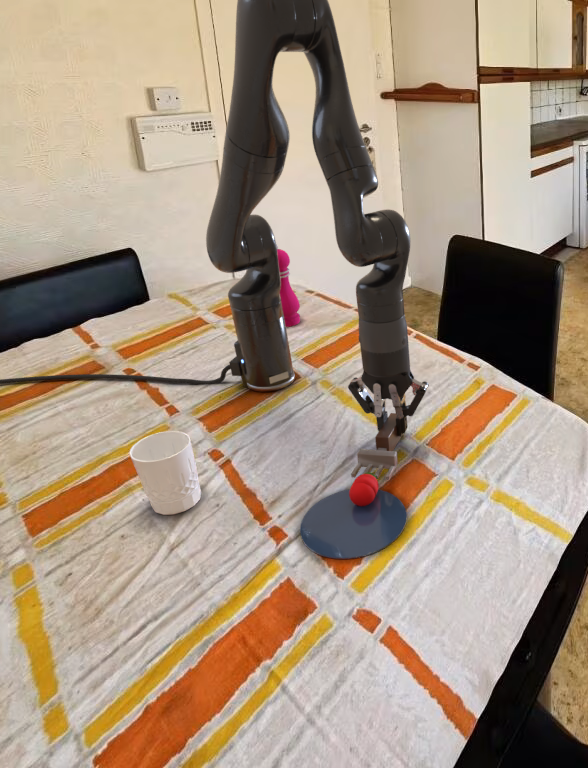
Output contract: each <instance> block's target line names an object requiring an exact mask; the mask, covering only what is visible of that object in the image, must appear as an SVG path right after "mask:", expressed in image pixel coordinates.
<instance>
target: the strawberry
mask: <svg viewBox="0 0 588 768" xmlns="http://www.w3.org/2000/svg"><path fill="white" fill-rule="evenodd" d="M363 473H364V472H363ZM363 473H362V474H360V475H358V476H356V477H355V478H354V480H353V482H352V485H351V486H350V491H349V496H350V499H351V501H352V502H353V503H354V504H355V505H357V506H366V505H369V504H370V503H371V502H372V501H373V500H374V498H375V496H376V494H377V491H378V490H379V487H380V486H379V480H378V479H377V477H376V476H375V475H374V474H375V473H372V472H370V473H369V472H367V473H364V474H363Z"/></svg>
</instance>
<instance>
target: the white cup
mask: <svg viewBox="0 0 588 768" xmlns="http://www.w3.org/2000/svg"><path fill="white" fill-rule="evenodd" d="M129 457H130V460H131V462H132V465H133V467H134V469H135V472H136V474H137V476H138V479H139V481H140V484H141V487H142V489H143V491H144V493H145V495H146V497H147V499H148V500H149V501H148V502H149V503H150V506H151V508H152V509H153V511H154V512H155V513H156V514H160V515H163V516H167V515H177V514H180V513H183V512H185V511H188V510H189V509H191V508H193V507H194V506H196V505H197V504H198V502H199V501H200V500H201V496H202V490H201V485H200V481H199V479H200V477H199V473H198V468H197V463H196V458H195V453H194V449H193V444H192V440H191V436H190V435H189V434H188V433H186V432H184V431H181V430H165V431H160V432H156V433H153V434H149V435H147V436H145V437H143V438H141V439H139V440H138V441H136V442H135V443H134V444H133V445H132V446H131V447H130V449H129Z"/></svg>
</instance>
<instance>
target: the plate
mask: <svg viewBox="0 0 588 768" xmlns="http://www.w3.org/2000/svg"><path fill="white" fill-rule="evenodd" d="M349 491H350V489H344V490H340V491H338V492H334V493H331V494H330V495H327V496H325V497H324V498H321V499H320V500H318V501H317V502H316V503H315V504H313V505H312V506H311V507H310V508H309V509H308V510H307V512H305V515H304V516H303V518H302V520H301V523H300V525H299V533H300V537H301V541H302V542H303V544H304V545H305V546H306V548H307V549H308V550H310V551H311V552H313V553H314V554H317V555H318V556H321V557H325V558H328V559H334V560H352V559H353V560H354V559H359V558H364V557H367V556H370V555H373V554H375V553H376V554H377V553H378V552H380V551H382V550H384V549H385V548H387V547H389V546H390V545H391V544H392V543H394V542H395V541H396V540H397V539H398V538H399V537H400V536H401V534H402V533H403V531H404V530H405V528H406V524H407V520H408V519H407V518H408V514H407V510H406V507H405V505H404V504H403V502H402V501H401V500H400V499H399V498H398V497H397V496H396V495H394V494H392V493H391V492H388V491H386V490H382V489H378V491H377V494H376V496H375V498H374V500H373V501H372V502H371V503H370V504H369V505H366V506H357V505H355V504H354V503H353V502H352V501H351V499H350V496H349Z"/></svg>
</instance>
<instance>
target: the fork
mask: <svg viewBox="0 0 588 768" xmlns="http://www.w3.org/2000/svg"><path fill="white" fill-rule="evenodd" d="M401 438H402V437H401V436H398V435H397V425H396V412H391V413H390V414H389V415H388V418H387V420H386V422H385V423H384V424H383V426H382V427H381V429H380V431H378V432H377V433H376V435H375V449H366V448H360V449H359V450H358V451H357V452H356V456H357V463H356V465H355V467H354V468H353V469H352V471H351V473H350V477H351V478H354V479H356V478H357V475H358V474H359V472H360V470H361V469H362V468H365V469H364V471H363V473H362V474H364V473H367V472H369V473H371V472H372V470H373V469H376V471H375V473H373V474H374V475H375V476H376V477H377V480H379V478H380V476H381V475H382V473H383V471H384V470H388V471H387V472H386V475H385V476H384V478H385V481H390V479H392V476H393V474H394V472H395V470H396V469H397V466H398V451H395V449H396V447H397V445H398V443H400V440H401Z"/></svg>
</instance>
